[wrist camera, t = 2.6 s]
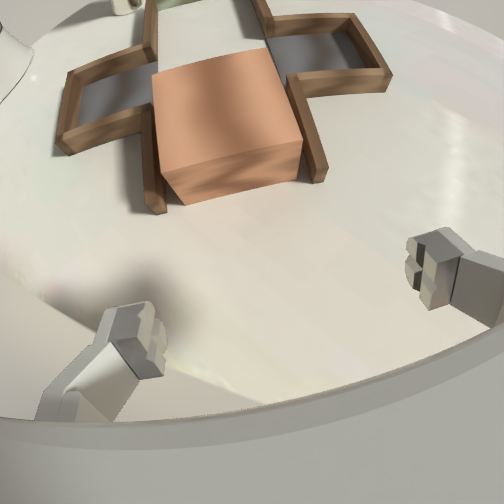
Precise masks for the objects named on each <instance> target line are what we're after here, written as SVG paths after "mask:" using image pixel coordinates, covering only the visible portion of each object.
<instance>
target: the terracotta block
mask: <svg viewBox="0 0 504 504" xmlns="http://www.w3.org/2000/svg"><path fill="white" fill-rule="evenodd" d="M152 88H153V100H154V112H155V123H156V133H157V142H158V151H159V160H160V168H161V174H162V175H163V177H164V178H165V179H166V181H167V182H168V183H169V185H170V186H171V187H172V189H173V190H174V191H175V193H176V194H177V195H178V197H179V198H180V199H181V200H182V202H183V203H184V204H185V206H186V205H190V204H194V203H198V202H202V201H205V200H209V199H213V198H217V197H221V196H225V195H230V194H234V193H238V192H242V191H246V190H251V189H255V188H259V187H264V186H268V185H273V184H277V183H282V182H286V181H291V180H296V178H297V173H298V167H299V161H300V155H301V149H302V143H303V138H302V135H301V132H300V130H299V127H298V124H297V121H296V119H295V116H294V113H293V111H292V108H291V105H290V103H289V100H288V98H287V95H286V92H285V90H284V87H283V85H282V82H281V80H280V77H279V75H278V72H277V70H276V68H275V65H274V63H273V60H272V58H271V56H270V53H269V51H268V49H267V48H260V49H255V50H249V51H244V52H238V53H233V54H229V55H224V56H219V57H215V58H211V59H206V60H202V61H198V62H195V63H191V64H187V65H183V66H180V67H176V68H173V69H169V70H166V71H163V72H160V73H156V74H153V75H152Z"/></svg>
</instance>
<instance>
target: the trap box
mask: <svg viewBox="0 0 504 504" xmlns="http://www.w3.org/2000/svg"><path fill="white" fill-rule="evenodd" d="M195 1H200V0H146V3H145V14H144V27H143V43H142V44H139V45H136V46H133V47H130V48H127V49H124V50H122V51H119V52H116V53H113V54H111V55H108V56H105V57H103V58H100V59H98V60H95V61H93V62H90V63H88V64H86V65H83V66H81V67H79V68H76V69H74V70H72V71H70V72H68V74H67V78H66V83H65V88H64V93H63V98H62V103H61V109H60V114H59V121H58V127H57V134H56V142H55V144H56V145H57V146H58V147H59V148H61V149H62V150H63V151H64V152H65V153H66V154H67V155H69V156H71V155H74V154H76V153H79V152H82V151H84V150H87V149H90V148H93V147H95V146H98V145H101V144H104V143H107V142H110V141H113V140H116V139H119V138H122V137H126V136H129V135H132V134H135V133H139V132H141V141H142V166H143V184H144V198H145V205H146V206H147V207H149V208H150V209H151V210H152V211H153V212H154V213H155V214H156V215H160V214H164V213H167V204H166V194H165V184H164V177H163V175H162V174H161V168H160V160H159V151H158V142H157V133H156V123H155V112H154V100H153V88H152V75H153V74H156V73H158V11H160V10H163V9H167V8H171V7H174V6H178V5H182V4H187V3H191V2H195ZM251 1H252V4H253V6H254V9H255V11H256V14H257V16H258V19H259V21H260V24H261V27H262V29H263V32H264V35H265V37H266V40H267V43H268V45H269V48H270V51H271V53H272V56H273V59H274V62H275V65H276V68H277V70H278V73H279V76H280V79H281V82H282V85H283V87H284V90H285V92H286V95H287V98H288V100H289V103H290V105H291V108H292V111H293V113H294V116H295V119H296V121H297V124H298V127H299V130H300V132H301V135H302V138H303V143H302V148H303V152H304V155H305V159H306V162H307V166H308V169H309V173H310V177H311V180H312V184H315V183H321V182H324V179H325V176H326V174H327V171H328V168H329V166H328V163H327V160H326V156H325V153H324V150H323V147H322V144H321V141H320V138H319V135H318V132H317V129H316V126H315V123H314V120H313V117H312V114H311V111H310V108H309V106H308V103H307V100H306V98H311V97H320V96H330V95H342V94H356V93H375V92H386V89H387V87H388V85H389V83H390V81H391V79H392V76H393V74H392V72H391V70H390V69H389V67H388V65H387V63H386V62H385V60H384V58H383V57H382V55H381V53H380V52H379V50H378V48H377V47H376V45H375V44H374V42H373V40H372V39H371V37H370V36H369V34H368V33H367V31H366V30H365V28H364V27H363V25H362V24H361V22H360V21H359V19H358V18H357V16H356V15H355V14H354V13H314V14H295V15H283V16H272V14H271V11H270V9H269V7H268V5H267V3H266V1H265V0H251Z"/></svg>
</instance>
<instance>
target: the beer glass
mask: <svg viewBox="0 0 504 504" xmlns="http://www.w3.org/2000/svg"><path fill="white" fill-rule="evenodd" d="M110 3H111V7H112V11H113V13H114V14H115V15H126V14H130V13H132V12H135V11H137V10H139V9H140V8H142V7H143V6H144V5H145V3H146V0H110Z"/></svg>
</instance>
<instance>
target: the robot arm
mask: <svg viewBox="0 0 504 504" xmlns="http://www.w3.org/2000/svg"><path fill="white" fill-rule="evenodd" d="M32 56H33V49H32V48H31V47H29V46H27V45H25V44H24V43H22V42H21V41H19V40H18V39H16V38H15V37H14V36H13V35H11V34H10V33H9V32H8V31H7V30H6V29H5V28H4V27H3V26H2V24H1V22H0V103H1V101H2V100H3V99H4V98H5V97H6V95H7V94H8V93H9V92H10V91H11V90H12V89H13V88H14V86H15V85H16V84H17V83H18V81H19V80H20V79H21V77H22V76H23V74H24V73H25V71H26V69H27V68H28V66H29V64H30V62H31V59H32ZM406 250H407V251H408V253H409V254H410V255H409V256H408V258H407V259H406V261H405V273H406V277H407V280H408V282H409V284H410V286H411V287H412V288H413V289H415V290H417V291H419V292H420V295H419V298H420V299H421V301H422V302H423V304H424V305H425V306H426V308H427V309H428V311H430V310H433V309H436V308H439V307H442V306H445V305H448V304H450V303H451V304H450V305H451V306H453V307H455V308H457V309H458V310H460V311H462V312H464V313H465V314H467V315H469V316H470V317H472V318H474V319H476V320H477V321H479V322H481V323H482V324H484V325H486V326H487V327H489V328H491V329H489V330H487V331H485V332H483V333H481V334H479V335H477V336H475V337H472V338H470V339H468V340H466V341H464V342H462V343H459V344H457V345H455V346H453V347H450V348H448V349H446V350H443V351H441V352H439V353H436V354H434V355H431V356H429V357H426V358H424V359H421V360H419V361H416V362H414V363H411V364H408V365H406V366H403V367H400V368H397V369H395V370H392V371H389V372H386V373H383V374H380V375H377V376H374V377H371V378H368V379H365V380H362V381H359V382H355V383H352V384H349V385H345V386H342V387H338V388H335V389H331V390H327V391H324V392H320V393H316V394H312V395H308V396H304V397H300V398H296V399H291V400H287V401H282V402H278V403H273V404H268V405H264V406H258V407H253V408H247V409H241V410H235V411H229V412H223V413H217V414H209V415H201V416H193V417H185V418H176V419H164V420H152V421H136V422H113V421H114V420H115V418H116V417H117V415H118V413H119V412H120V411H121V409H122V408H123V406H124V405H125V403H126V402H127V400H128V398H129V397H130V396H131V394H132V393H133V391H134V389H135V388H136V386H137V385H138V383H139V382H140V381H139V380H143V379H149V378H155V377H161V376H164V369H165V361H166V359H165V358H164V356H163V355H162V354H163V353H164V352H165V350H166V349H167V343H168V340H167V333H166V330H165V327H164V325H163V323H162V321H161V320H160V319H158V318H156V317H155V311H156V310H155V308H154V306H153V305H152V303H151V302H150V301H142V302H137V303H132V304H126V305H121V306H116V307H111V308H107V309H106V310H105V311H104V313H103V316H102V319H101V322H100V324H99V327H98V330H97V333H96V336H95V339H94V342H93V344H92V345H88V346H87V347H86V348H85V349H84V350H83V351H82V352H81V353H80V355H78V356H77V357H76V358H75V359H74V360H73V361H72V362H71V363H70V364H69V365H68V366H67V367H66V369H64V370H63V372H62V373H61V374H60V375H59V376H58V377H57V378H56V379H55V380H54V381H53V382H52V383H51V384H50V385H49V386H48V387H47V388H46V389H45V390H44V392H43V394H42V397H41V401H40V404H39V406H38V410H37V413H36V416H35V419H34V420H22V419H12V418H4V417H0V504H504V258H501V257H498V256H495V255H492V254H489V253H486V252H483V251H480V250H478V251H475V250H474V249H473V248H472V247H471V246H470V245H468V244H467V243H466V242H465V241H464V240H463V239H462V238H461V237H460V236H458V235H457V234H456V233H455V232H454V231H453V230H452V229H451V228H449V227H443V228H440V229H437V230H434V231H432V232H428V233H425V234H421V235H418V236H414V237H410V238H408V240H407V244H406Z"/></svg>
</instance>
